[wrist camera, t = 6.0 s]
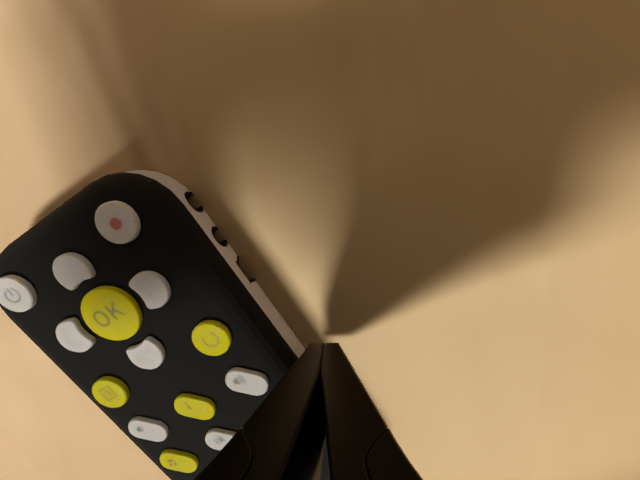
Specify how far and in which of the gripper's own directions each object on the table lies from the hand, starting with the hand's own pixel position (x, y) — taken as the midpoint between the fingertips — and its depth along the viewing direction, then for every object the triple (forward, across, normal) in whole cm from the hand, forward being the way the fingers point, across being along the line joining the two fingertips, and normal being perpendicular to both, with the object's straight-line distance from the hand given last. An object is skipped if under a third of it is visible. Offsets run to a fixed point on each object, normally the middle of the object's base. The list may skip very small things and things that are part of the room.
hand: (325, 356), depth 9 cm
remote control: (+1, +4, +1) cm, 4 cm away
